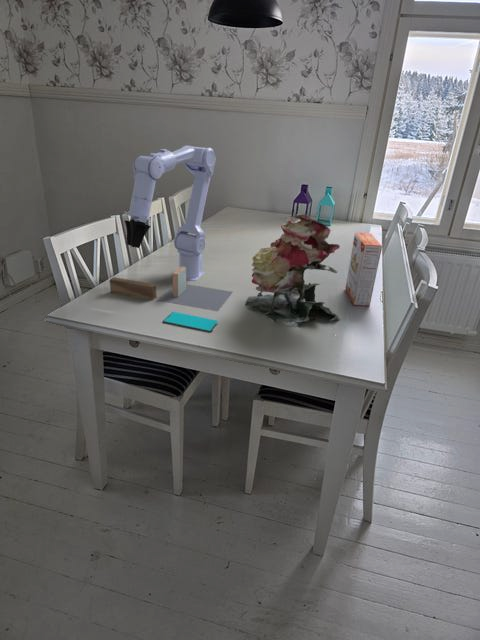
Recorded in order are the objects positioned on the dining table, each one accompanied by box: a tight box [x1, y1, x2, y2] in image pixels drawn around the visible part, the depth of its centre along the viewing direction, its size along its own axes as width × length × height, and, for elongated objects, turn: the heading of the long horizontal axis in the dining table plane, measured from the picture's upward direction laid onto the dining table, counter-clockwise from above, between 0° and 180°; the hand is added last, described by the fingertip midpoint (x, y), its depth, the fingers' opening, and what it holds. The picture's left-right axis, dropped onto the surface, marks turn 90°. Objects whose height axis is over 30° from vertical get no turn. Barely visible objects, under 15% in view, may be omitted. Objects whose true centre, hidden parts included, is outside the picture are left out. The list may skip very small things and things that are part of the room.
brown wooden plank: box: [109, 276, 157, 301], centre depth 135 cm, size 2×15×5 cm, turn 74°
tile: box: [172, 266, 187, 297], centre depth 137 cm, size 7×2×8 cm, turn 164°
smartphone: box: [162, 311, 219, 334], centre depth 122 cm, size 7×1×15 cm
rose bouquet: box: [244, 213, 341, 328], centre depth 128 cm, size 26×29×30 cm
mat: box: [157, 283, 234, 312], centre depth 138 cm, size 16×20×1 cm
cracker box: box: [344, 232, 383, 307], centre depth 141 cm, size 14×6×21 cm, turn 178°
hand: (132, 246), depth 123 cm, fingers open, 7 cm apart
